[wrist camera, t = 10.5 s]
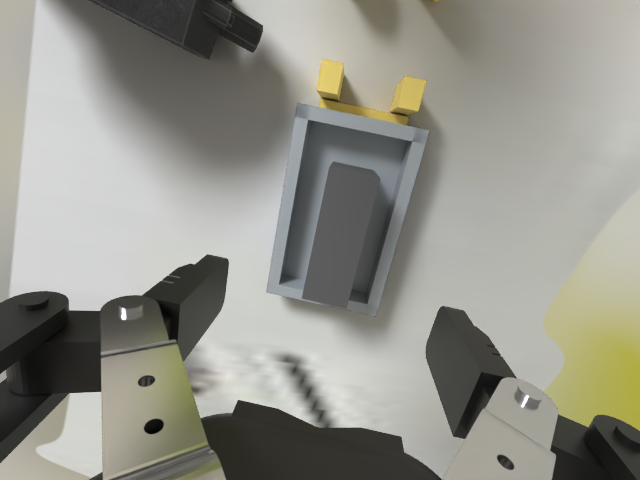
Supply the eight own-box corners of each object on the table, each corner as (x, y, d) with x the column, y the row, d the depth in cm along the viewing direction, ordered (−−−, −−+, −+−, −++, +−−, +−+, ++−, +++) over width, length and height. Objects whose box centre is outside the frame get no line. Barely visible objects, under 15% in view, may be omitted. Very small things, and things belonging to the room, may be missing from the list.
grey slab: (333, 161, 27) (329, 167, 22) (373, 170, 27) (380, 178, 22) (308, 275, 31) (299, 306, 25) (345, 283, 31) (344, 316, 25)
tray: (302, 106, 27) (297, 102, 24) (421, 131, 27) (429, 130, 24) (273, 278, 32) (266, 292, 29) (373, 300, 32) (375, 316, 29)
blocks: (355, -88, 23) (356, -133, 19) (457, -68, 23) (478, -109, 19) (315, 124, 27) (310, 122, 24) (401, 142, 27) (409, 143, 24)
